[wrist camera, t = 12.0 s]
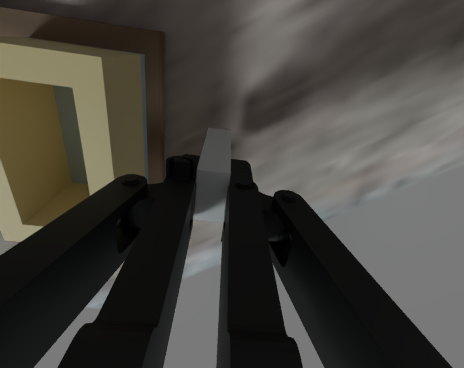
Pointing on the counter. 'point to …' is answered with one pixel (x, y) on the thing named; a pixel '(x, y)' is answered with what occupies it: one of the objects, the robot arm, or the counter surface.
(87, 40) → the wall board
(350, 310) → the robot arm
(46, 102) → the frame
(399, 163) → the counter surface
